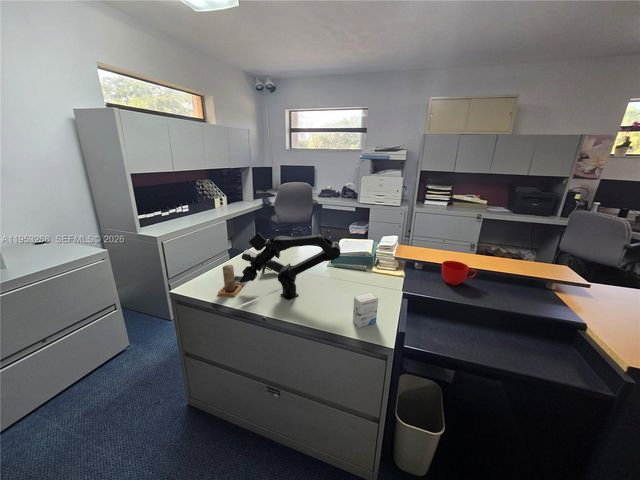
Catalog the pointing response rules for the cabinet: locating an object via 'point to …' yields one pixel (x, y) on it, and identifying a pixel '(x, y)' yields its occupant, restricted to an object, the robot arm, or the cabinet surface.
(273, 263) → the gun
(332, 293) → the cabinet surface
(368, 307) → the ink box
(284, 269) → the robot arm
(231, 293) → the tray
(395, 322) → the cabinet surface
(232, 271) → the post
